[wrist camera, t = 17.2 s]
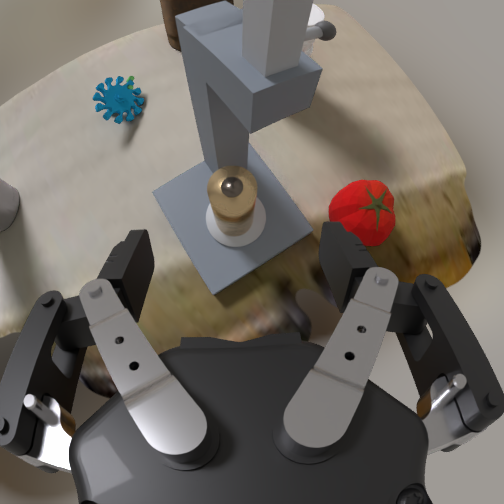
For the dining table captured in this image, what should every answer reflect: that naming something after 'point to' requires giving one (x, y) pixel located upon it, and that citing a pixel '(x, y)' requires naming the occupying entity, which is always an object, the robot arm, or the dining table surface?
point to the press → (241, 126)
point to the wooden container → (177, 3)
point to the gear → (118, 99)
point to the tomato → (364, 211)
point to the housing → (232, 199)
